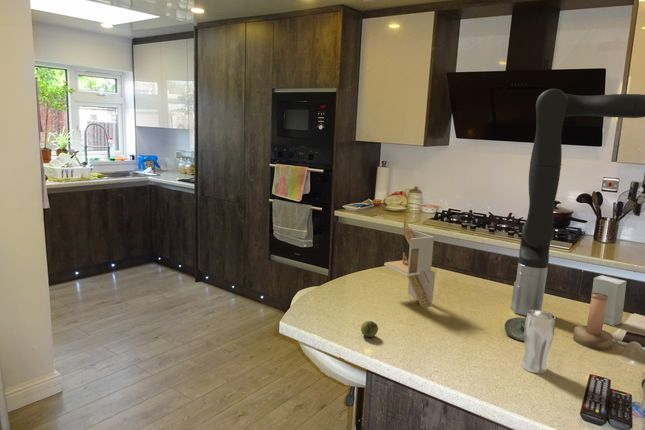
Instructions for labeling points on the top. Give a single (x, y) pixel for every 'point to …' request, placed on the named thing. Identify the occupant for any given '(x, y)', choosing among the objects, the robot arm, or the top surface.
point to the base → (592, 339)
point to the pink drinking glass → (596, 314)
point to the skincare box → (611, 297)
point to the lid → (515, 328)
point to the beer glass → (537, 340)
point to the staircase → (417, 266)
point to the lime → (369, 329)
